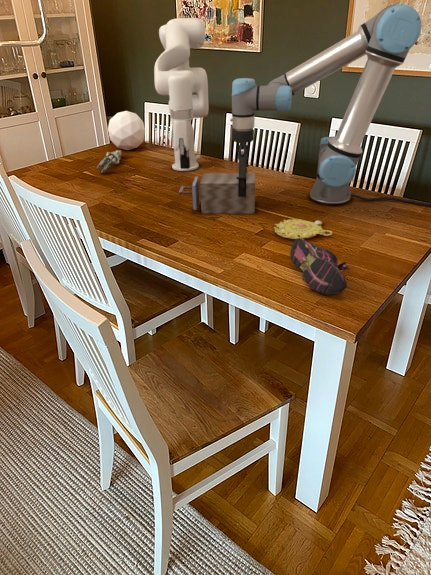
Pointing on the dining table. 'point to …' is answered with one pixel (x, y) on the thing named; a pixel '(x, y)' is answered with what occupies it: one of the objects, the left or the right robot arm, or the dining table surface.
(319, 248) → the athletic shoe
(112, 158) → the figurine
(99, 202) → the dining table surface
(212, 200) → the cabinet
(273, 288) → the dining table surface
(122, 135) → the sphere
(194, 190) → the drawer
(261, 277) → the dining table surface
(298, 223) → the decorative object
